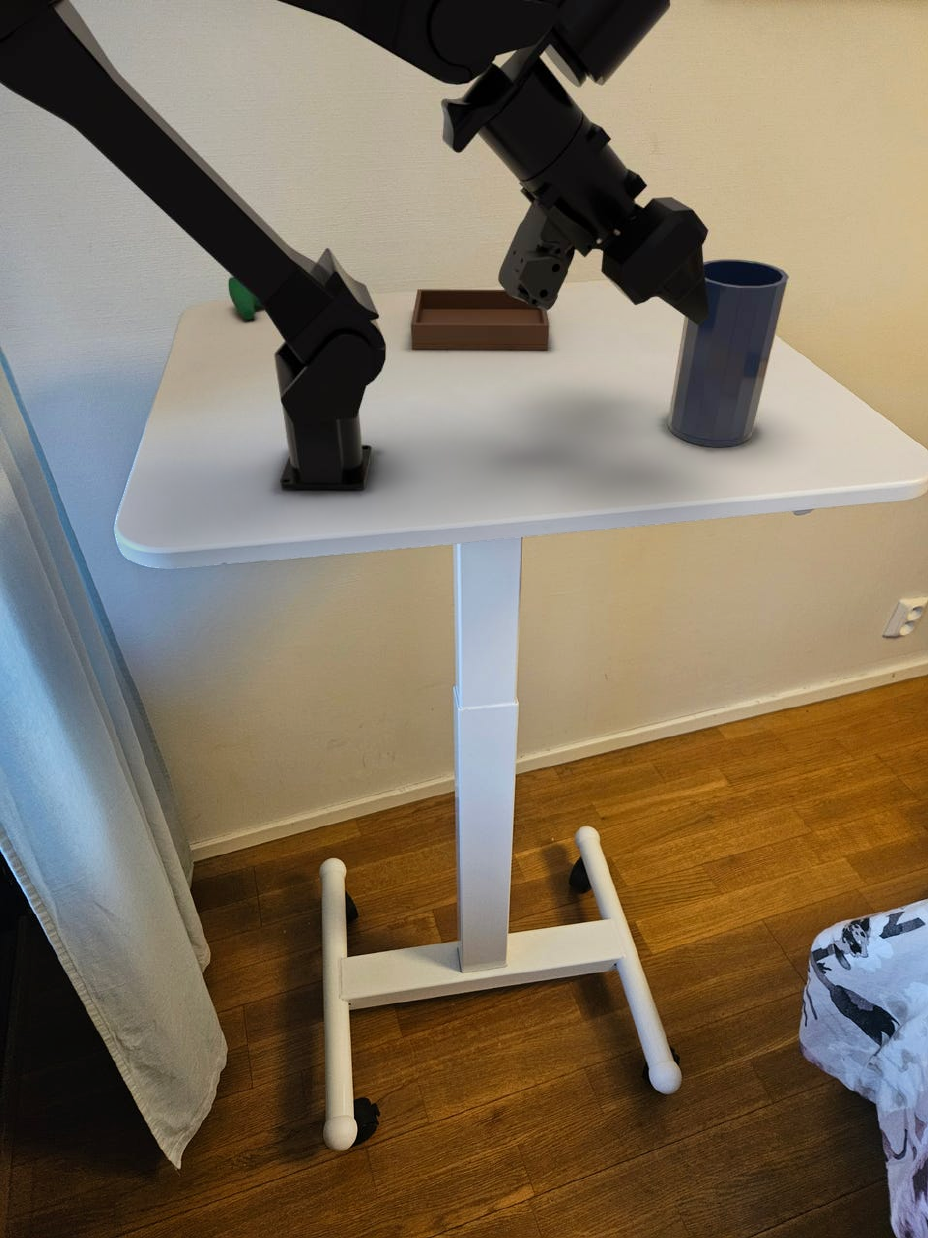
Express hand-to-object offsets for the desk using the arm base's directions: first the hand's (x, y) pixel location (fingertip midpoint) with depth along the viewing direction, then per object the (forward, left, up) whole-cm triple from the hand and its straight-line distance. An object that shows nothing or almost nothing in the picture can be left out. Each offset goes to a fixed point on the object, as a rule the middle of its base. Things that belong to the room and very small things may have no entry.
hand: (677, 299), depth 65 cm
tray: (+24, +15, -11) cm, 31 cm away
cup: (+1, -5, -11) cm, 12 cm away
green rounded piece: (+31, +39, -12) cm, 51 cm away
